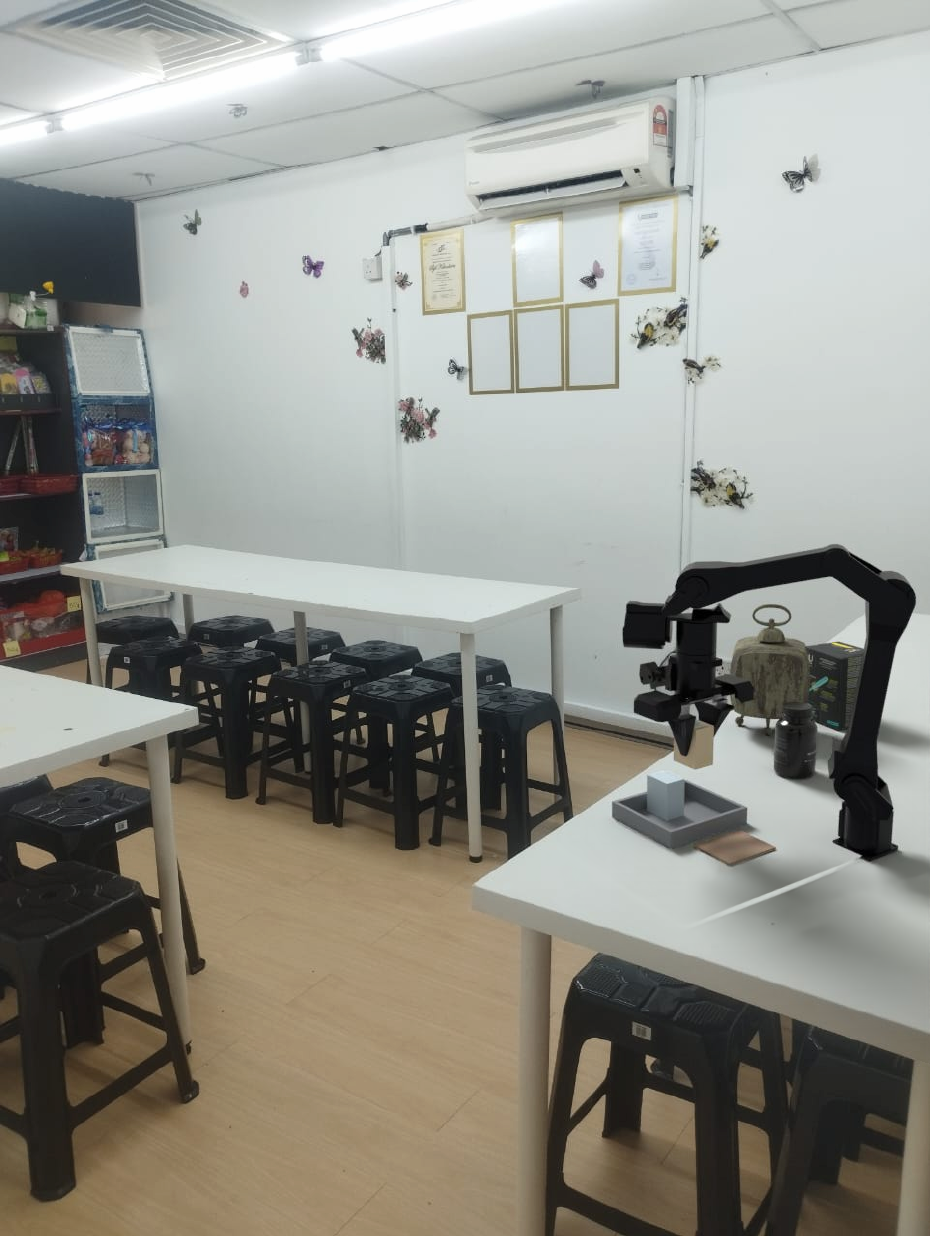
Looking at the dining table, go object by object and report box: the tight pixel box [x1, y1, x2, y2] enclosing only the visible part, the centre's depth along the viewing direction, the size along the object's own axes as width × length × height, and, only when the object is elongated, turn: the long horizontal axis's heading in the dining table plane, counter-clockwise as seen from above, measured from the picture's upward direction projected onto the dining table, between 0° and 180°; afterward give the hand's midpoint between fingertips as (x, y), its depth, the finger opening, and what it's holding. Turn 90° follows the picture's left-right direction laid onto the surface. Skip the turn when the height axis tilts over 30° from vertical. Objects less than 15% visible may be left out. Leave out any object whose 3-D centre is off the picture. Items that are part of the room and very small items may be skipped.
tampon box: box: [805, 641, 864, 731], centre depth 190 cm, size 11×9×15 cm
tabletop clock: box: [729, 603, 810, 736], centre depth 184 cm, size 14×9×25 cm, turn 72°
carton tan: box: [673, 718, 715, 770], centre depth 143 cm, size 4×4×6 cm
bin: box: [611, 779, 748, 850], centre depth 148 cm, size 13×15×3 cm
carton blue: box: [646, 769, 685, 821], centre depth 150 cm, size 4×4×6 cm
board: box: [693, 829, 777, 867], centre depth 139 cm, size 7×9×1 cm
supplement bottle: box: [773, 702, 818, 780], centre depth 165 cm, size 7×7×12 cm
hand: (693, 752), depth 143 cm, fingers closed on carton tan, 3 cm apart
